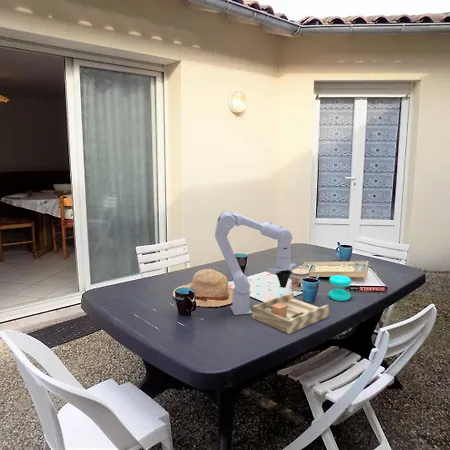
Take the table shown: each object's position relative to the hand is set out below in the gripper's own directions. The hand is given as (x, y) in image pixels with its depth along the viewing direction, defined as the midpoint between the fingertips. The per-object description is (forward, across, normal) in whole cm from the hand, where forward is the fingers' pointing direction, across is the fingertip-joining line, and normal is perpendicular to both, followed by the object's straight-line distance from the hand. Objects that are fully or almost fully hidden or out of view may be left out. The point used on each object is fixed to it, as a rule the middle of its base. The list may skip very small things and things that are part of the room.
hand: (283, 287), depth 169 cm
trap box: (+10, -3, -7) cm, 13 cm away
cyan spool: (+11, +31, -8) cm, 34 cm away
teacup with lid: (+11, +28, +12) cm, 32 cm away
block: (+8, -11, -8) cm, 15 cm away
